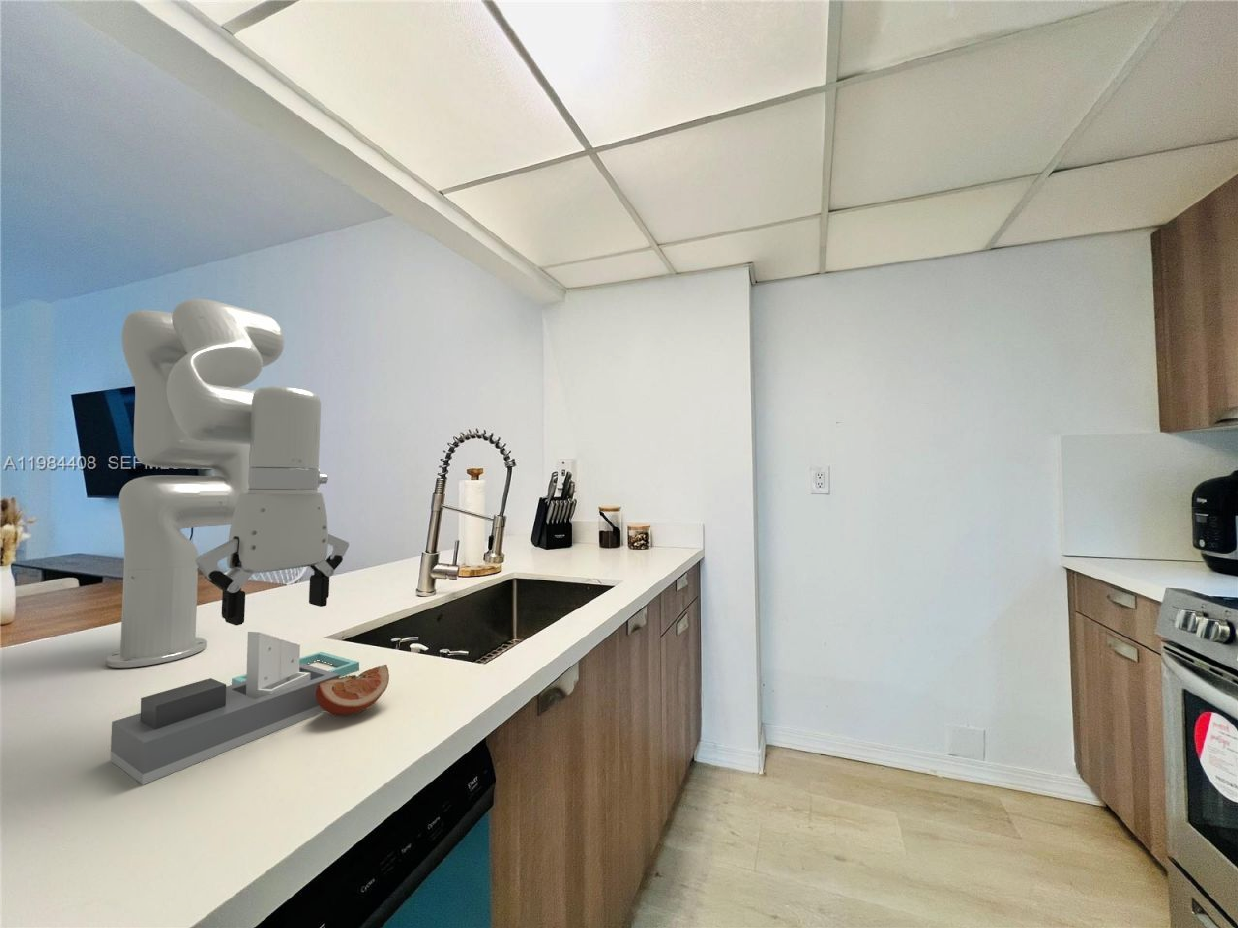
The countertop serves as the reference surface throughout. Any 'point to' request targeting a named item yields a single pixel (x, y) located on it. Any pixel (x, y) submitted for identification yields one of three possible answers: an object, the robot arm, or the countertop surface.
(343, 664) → the tray frame
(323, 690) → the fruit slice
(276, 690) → the white angled block
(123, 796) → the countertop surface
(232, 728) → the grey slotted holder
